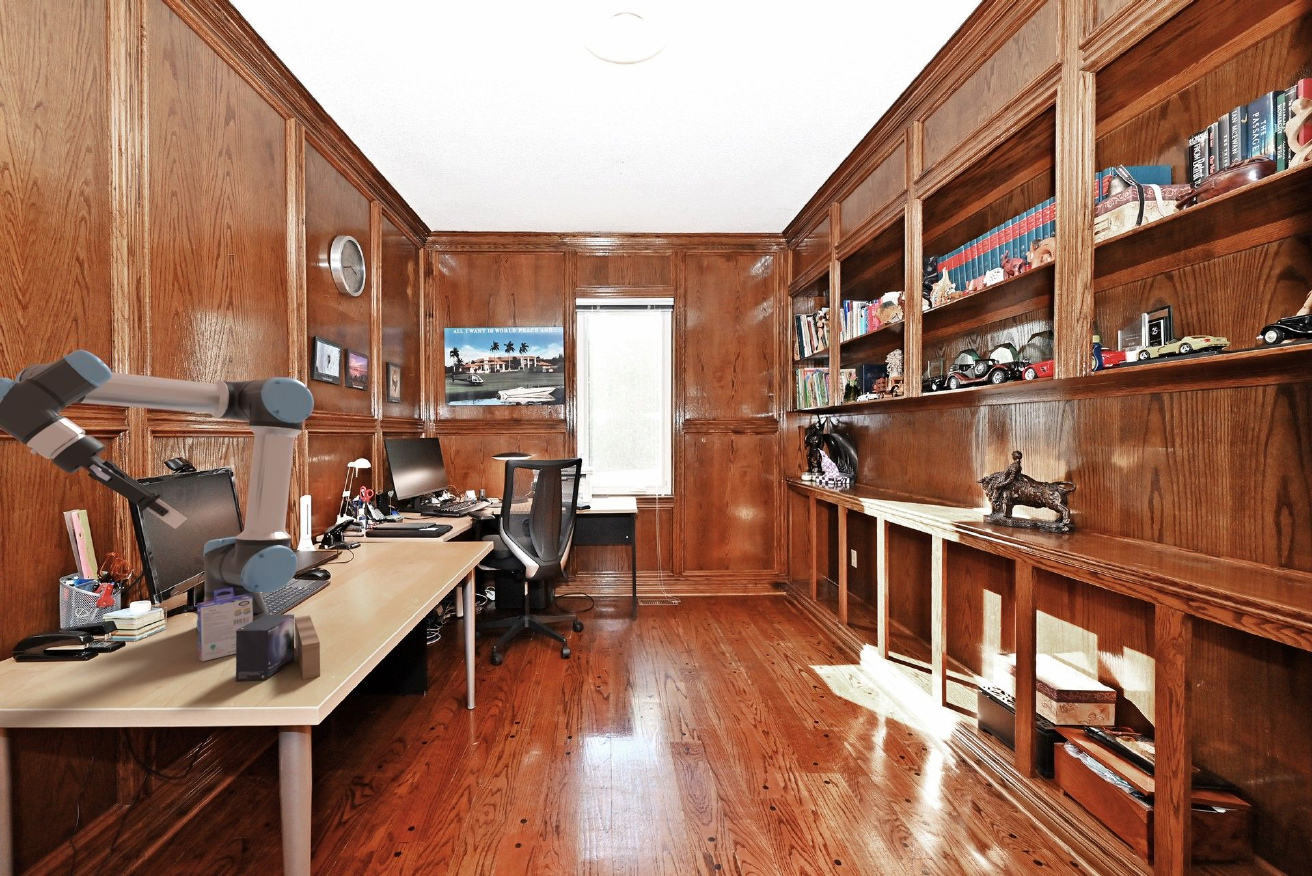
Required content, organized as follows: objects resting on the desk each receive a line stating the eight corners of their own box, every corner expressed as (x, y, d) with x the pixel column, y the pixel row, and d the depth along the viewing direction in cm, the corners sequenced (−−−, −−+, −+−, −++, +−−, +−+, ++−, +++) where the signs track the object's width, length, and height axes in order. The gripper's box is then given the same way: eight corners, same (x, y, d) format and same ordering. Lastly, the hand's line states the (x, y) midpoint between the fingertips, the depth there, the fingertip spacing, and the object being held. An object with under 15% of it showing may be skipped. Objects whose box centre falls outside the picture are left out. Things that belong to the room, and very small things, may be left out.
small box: (268, 680, 116) (267, 629, 116) (234, 682, 116) (233, 630, 115) (296, 660, 127) (295, 612, 127) (265, 661, 126) (264, 613, 126)
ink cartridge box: (249, 644, 137) (248, 583, 137) (255, 649, 133) (254, 587, 133) (196, 656, 130) (195, 592, 130) (201, 662, 126) (200, 596, 126)
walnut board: (295, 647, 134) (294, 617, 134) (310, 644, 136) (309, 615, 136) (303, 679, 116) (302, 645, 116) (320, 676, 118) (319, 642, 118)
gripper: (58, 460, 116) (168, 533, 126) (40, 462, 105) (161, 542, 115) (94, 433, 119) (199, 507, 129) (80, 433, 108) (195, 513, 118)
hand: (181, 523), depth 122 cm, fingers closed
